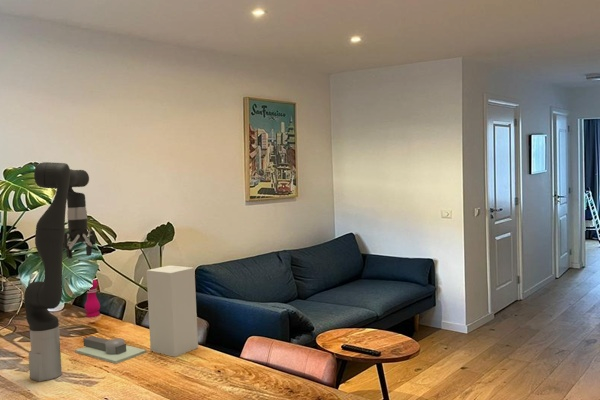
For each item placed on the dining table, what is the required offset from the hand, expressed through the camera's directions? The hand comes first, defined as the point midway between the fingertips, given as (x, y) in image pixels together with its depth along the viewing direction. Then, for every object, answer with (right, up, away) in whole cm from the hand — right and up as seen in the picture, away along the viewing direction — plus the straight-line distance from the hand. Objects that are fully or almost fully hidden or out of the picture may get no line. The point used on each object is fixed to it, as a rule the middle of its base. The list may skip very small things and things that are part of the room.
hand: (79, 256), depth 224 cm
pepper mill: (-12, -35, +45) cm, 58 cm away
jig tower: (+43, -35, -13) cm, 57 cm away
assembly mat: (+18, -36, -13) cm, 42 cm away
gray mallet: (+15, -35, -11) cm, 40 cm away
